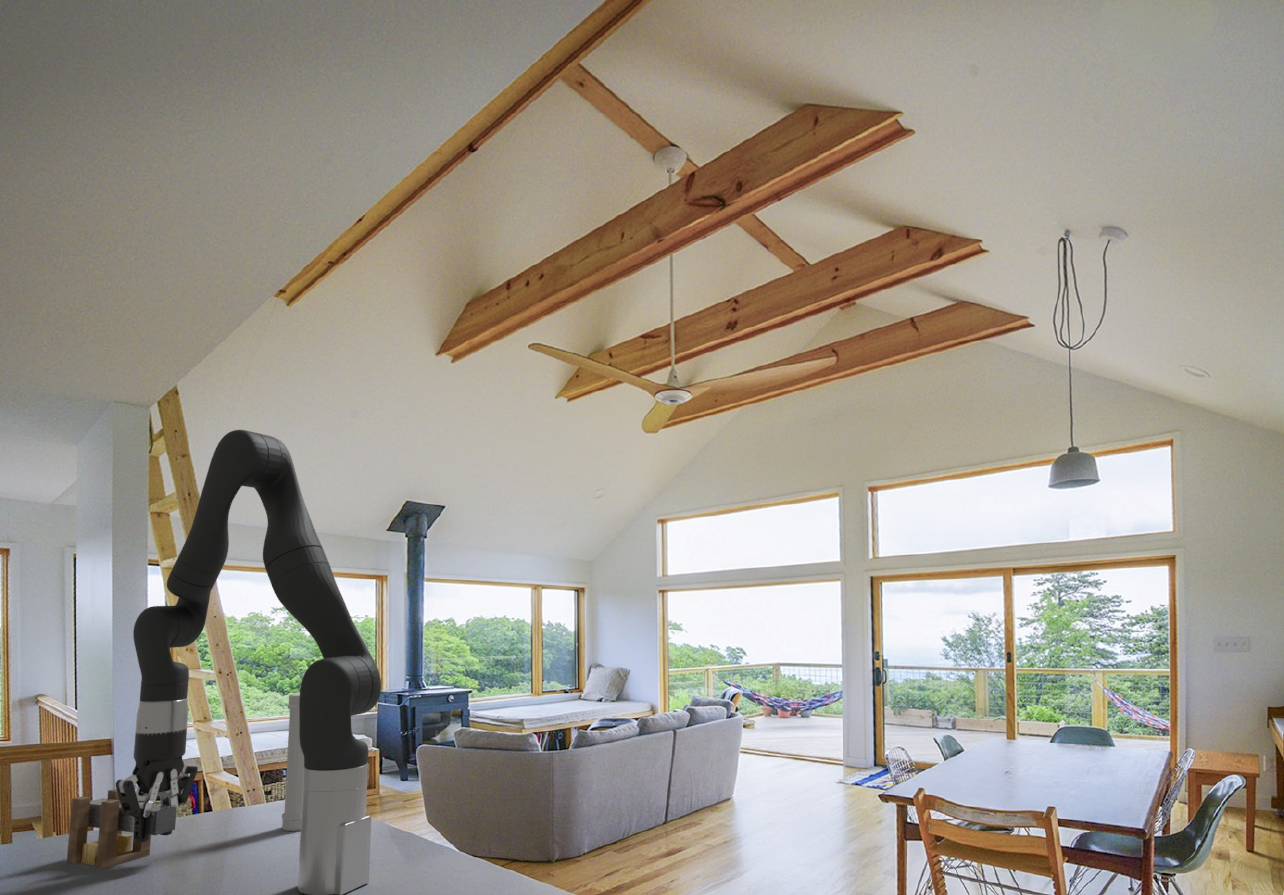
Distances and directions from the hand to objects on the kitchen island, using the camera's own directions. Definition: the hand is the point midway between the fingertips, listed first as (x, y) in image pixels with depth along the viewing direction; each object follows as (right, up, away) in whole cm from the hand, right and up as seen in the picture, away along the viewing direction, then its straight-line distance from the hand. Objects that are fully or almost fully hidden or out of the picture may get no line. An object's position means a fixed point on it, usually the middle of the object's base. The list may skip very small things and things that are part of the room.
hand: (153, 837), depth 142 cm
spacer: (-8, -3, +3) cm, 9 cm away
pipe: (+15, -8, +21) cm, 27 cm away
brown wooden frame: (-9, -5, +3) cm, 11 cm away
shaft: (-6, 0, +2) cm, 6 cm away
